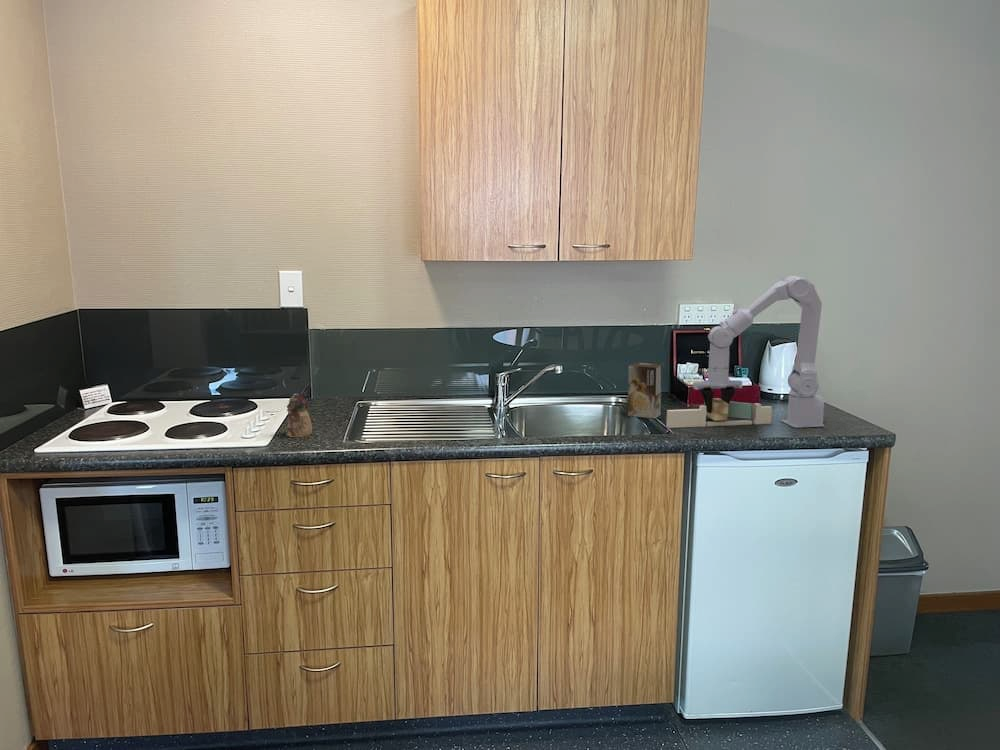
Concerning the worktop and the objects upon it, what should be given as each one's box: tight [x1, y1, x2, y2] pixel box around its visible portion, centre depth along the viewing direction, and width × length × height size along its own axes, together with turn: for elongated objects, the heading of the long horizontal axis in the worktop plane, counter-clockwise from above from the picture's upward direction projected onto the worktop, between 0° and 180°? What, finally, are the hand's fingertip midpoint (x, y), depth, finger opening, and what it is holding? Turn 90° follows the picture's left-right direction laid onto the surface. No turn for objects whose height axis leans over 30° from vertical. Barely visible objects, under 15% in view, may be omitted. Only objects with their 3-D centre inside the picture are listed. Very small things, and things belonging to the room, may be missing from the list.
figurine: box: [286, 392, 313, 438], centre depth 221 cm, size 7×7×12 cm
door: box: [703, 400, 755, 420], centre depth 235 cm, size 15×1×4 cm, turn 62°
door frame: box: [666, 402, 773, 429], centre depth 230 cm, size 32×2×6 cm, turn 98°
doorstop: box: [706, 397, 728, 421], centre depth 232 cm, size 4×7×5 cm, turn 6°
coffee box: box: [627, 362, 663, 419], centre depth 241 cm, size 9×6×16 cm
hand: (716, 412), depth 232 cm, fingers closed on doorstop, 4 cm apart
